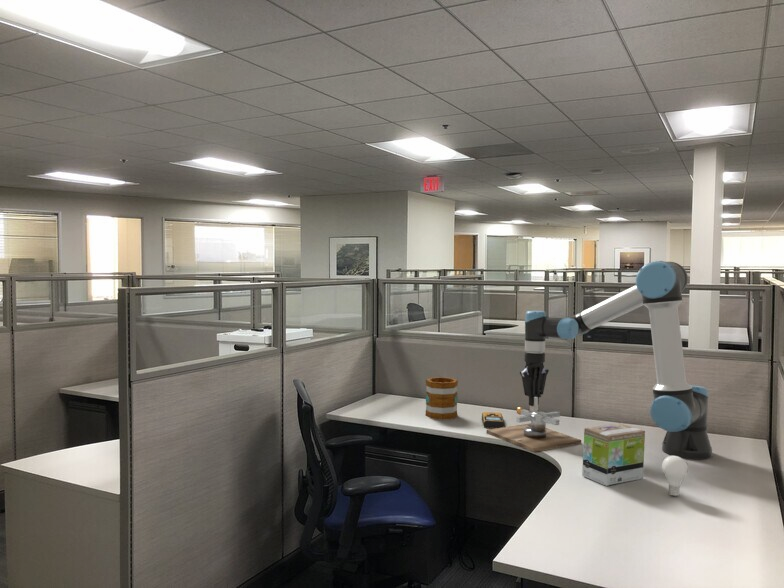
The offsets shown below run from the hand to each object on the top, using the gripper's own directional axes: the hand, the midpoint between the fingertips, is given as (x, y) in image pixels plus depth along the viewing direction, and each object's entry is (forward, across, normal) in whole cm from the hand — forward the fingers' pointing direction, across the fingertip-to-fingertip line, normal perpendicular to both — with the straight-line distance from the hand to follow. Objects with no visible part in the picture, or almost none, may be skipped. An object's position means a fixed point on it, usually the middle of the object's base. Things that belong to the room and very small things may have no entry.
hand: (533, 413), depth 226 cm
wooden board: (+7, +6, +6) cm, 11 cm away
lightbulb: (+7, +14, +66) cm, 68 cm away
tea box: (+7, +16, +48) cm, 51 cm away
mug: (+7, +13, -41) cm, 44 cm away
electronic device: (+8, +4, -18) cm, 20 cm away
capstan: (+6, +6, +9) cm, 12 cm away
